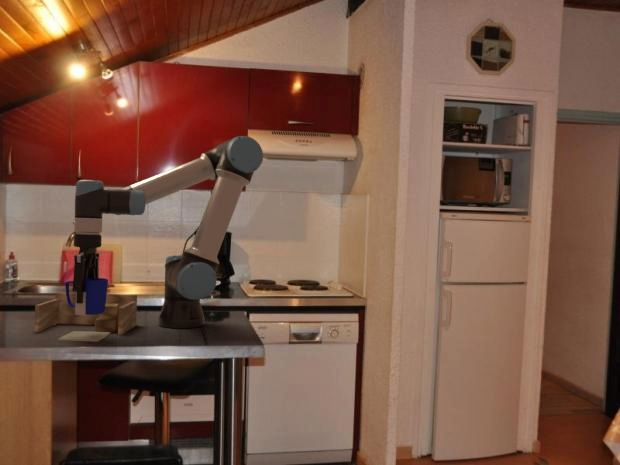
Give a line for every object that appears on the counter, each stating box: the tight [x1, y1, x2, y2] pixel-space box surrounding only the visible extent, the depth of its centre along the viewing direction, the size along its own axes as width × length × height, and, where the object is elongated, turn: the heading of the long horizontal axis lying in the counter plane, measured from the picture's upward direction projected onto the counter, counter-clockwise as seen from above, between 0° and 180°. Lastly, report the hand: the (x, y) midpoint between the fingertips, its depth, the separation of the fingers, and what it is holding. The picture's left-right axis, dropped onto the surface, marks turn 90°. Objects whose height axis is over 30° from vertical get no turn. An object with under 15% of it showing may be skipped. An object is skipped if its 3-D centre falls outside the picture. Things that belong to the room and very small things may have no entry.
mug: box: [65, 277, 109, 315], centre depth 170 cm, size 8×12×10 cm
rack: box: [34, 291, 138, 335], centre depth 183 cm, size 26×16×10 cm, turn 91°
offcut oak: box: [99, 304, 119, 320], centre depth 182 cm, size 5×6×4 cm
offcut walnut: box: [94, 318, 118, 333], centre depth 182 cm, size 6×7×4 cm
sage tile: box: [57, 330, 111, 343], centre depth 170 cm, size 11×11×1 cm
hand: (85, 312), depth 170 cm, fingers closed on mug, 7 cm apart
